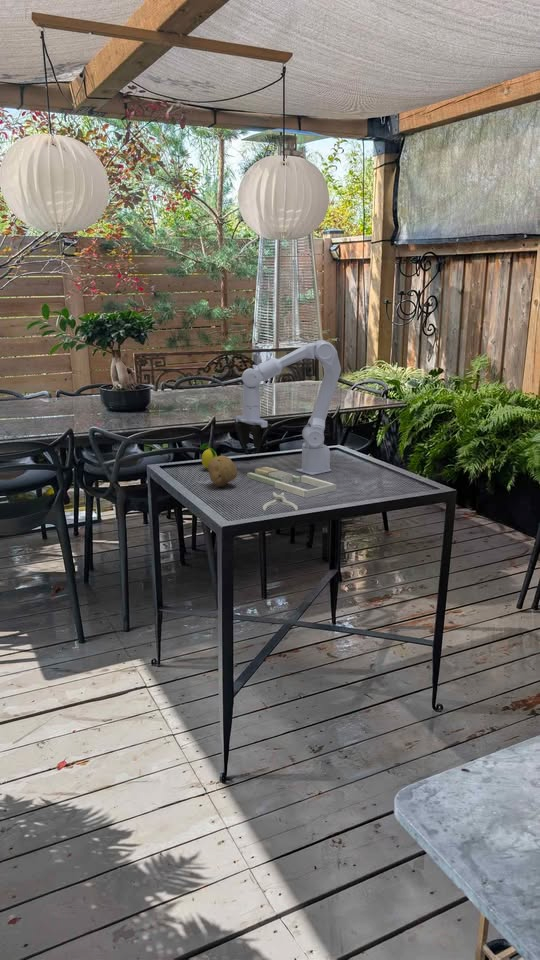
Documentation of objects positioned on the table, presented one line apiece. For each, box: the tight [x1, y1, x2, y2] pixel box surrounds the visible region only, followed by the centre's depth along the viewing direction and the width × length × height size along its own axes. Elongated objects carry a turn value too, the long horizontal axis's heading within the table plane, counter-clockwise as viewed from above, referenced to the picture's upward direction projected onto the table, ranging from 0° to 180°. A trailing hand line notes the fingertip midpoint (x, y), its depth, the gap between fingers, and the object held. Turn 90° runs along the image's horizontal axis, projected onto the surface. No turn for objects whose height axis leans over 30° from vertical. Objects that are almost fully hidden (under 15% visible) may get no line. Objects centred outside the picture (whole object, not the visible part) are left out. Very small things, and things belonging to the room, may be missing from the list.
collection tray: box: [274, 475, 337, 499], centre depth 218 cm, size 12×14×2 cm
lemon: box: [199, 441, 218, 470], centre depth 240 cm, size 7×6×10 cm
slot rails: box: [246, 472, 301, 487], centre depth 229 cm, size 10×15×2 cm, turn 40°
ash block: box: [254, 466, 279, 478], centre depth 231 cm, size 5×6×3 cm
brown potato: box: [207, 454, 238, 488], centre depth 219 cm, size 9×9×10 cm
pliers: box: [262, 491, 299, 512], centre depth 203 cm, size 10×2×15 cm
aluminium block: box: [269, 470, 294, 484], centre depth 226 cm, size 5×6×3 cm
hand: (251, 445), depth 235 cm, fingers open, 6 cm apart
